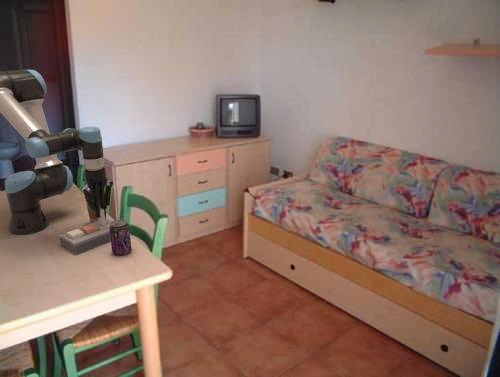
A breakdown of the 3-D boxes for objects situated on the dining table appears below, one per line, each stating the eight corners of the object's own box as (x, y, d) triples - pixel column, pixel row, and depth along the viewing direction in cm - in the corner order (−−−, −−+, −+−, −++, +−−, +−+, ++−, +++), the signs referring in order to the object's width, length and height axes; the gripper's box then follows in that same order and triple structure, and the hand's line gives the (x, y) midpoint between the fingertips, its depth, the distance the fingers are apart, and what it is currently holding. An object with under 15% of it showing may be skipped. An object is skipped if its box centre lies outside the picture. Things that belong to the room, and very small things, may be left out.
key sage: (96, 232, 178) (95, 226, 177) (105, 229, 181) (104, 222, 180) (101, 236, 176) (100, 229, 175) (111, 232, 179) (110, 225, 178)
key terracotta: (82, 234, 174) (81, 227, 173) (92, 230, 177) (91, 223, 176) (87, 237, 171) (86, 230, 170) (98, 233, 174) (97, 226, 173)
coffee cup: (102, 228, 186) (98, 195, 181) (84, 227, 188) (79, 194, 183) (112, 220, 194) (108, 188, 189) (95, 219, 196) (90, 187, 190)
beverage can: (121, 258, 162) (117, 228, 158) (108, 253, 165) (104, 224, 161) (135, 250, 168) (132, 221, 163) (122, 245, 171) (119, 217, 167)
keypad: (60, 245, 172) (59, 234, 171) (104, 229, 185) (103, 219, 184) (76, 255, 165) (74, 243, 163) (120, 237, 178) (119, 227, 176)
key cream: (68, 239, 170) (66, 232, 169) (78, 235, 173) (77, 228, 172) (73, 242, 167) (72, 235, 166) (84, 238, 170) (83, 231, 169)
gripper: (84, 173, 162) (92, 231, 170) (115, 165, 171) (121, 221, 180) (73, 169, 167) (82, 226, 175) (104, 162, 176) (111, 216, 184)
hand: (102, 223), depth 177 cm, fingers closed
